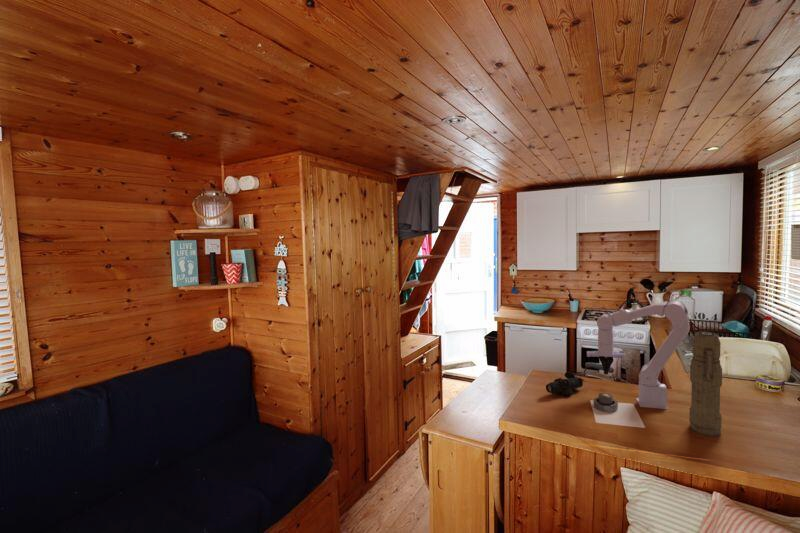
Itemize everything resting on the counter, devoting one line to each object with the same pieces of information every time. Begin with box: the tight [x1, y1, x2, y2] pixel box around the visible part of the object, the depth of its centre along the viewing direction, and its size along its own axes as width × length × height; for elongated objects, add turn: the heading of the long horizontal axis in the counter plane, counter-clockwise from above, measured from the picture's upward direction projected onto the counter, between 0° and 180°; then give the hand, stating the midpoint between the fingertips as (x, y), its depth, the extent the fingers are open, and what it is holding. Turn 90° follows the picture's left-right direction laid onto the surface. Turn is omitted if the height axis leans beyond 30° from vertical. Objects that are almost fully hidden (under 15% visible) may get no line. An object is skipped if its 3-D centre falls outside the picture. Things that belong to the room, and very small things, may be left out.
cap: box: [598, 392, 614, 405], centre depth 156 cm, size 5×5×5 cm
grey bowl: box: [592, 396, 619, 413], centre depth 157 cm, size 8×8×3 cm
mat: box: [589, 399, 646, 429], centre depth 152 cm, size 16×20×1 cm
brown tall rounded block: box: [688, 330, 723, 438], centre depth 136 cm, size 9×12×35 cm
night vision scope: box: [545, 371, 585, 397], centre depth 173 cm, size 8×18×10 cm
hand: (605, 373), depth 167 cm, fingers closed
